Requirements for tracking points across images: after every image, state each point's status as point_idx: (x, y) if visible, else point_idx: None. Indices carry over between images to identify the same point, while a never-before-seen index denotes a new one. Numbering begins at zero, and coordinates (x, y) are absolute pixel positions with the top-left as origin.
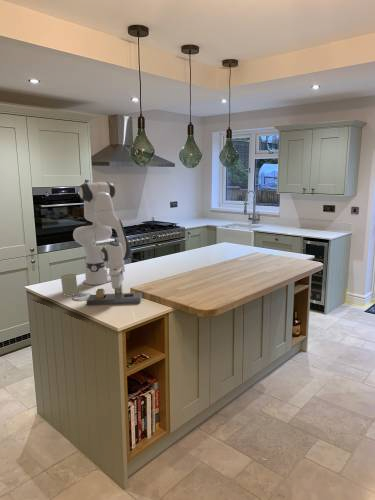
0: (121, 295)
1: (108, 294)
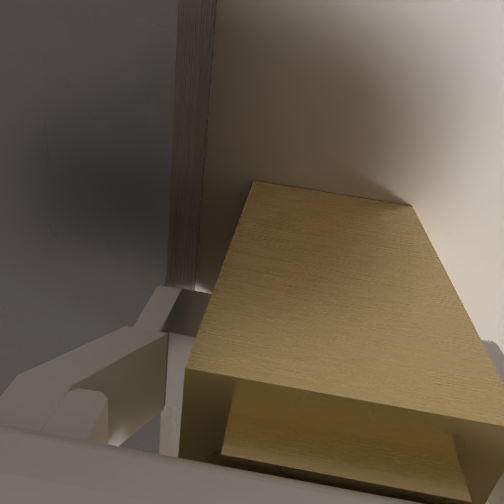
0: (6, 364)
1: (119, 25)
